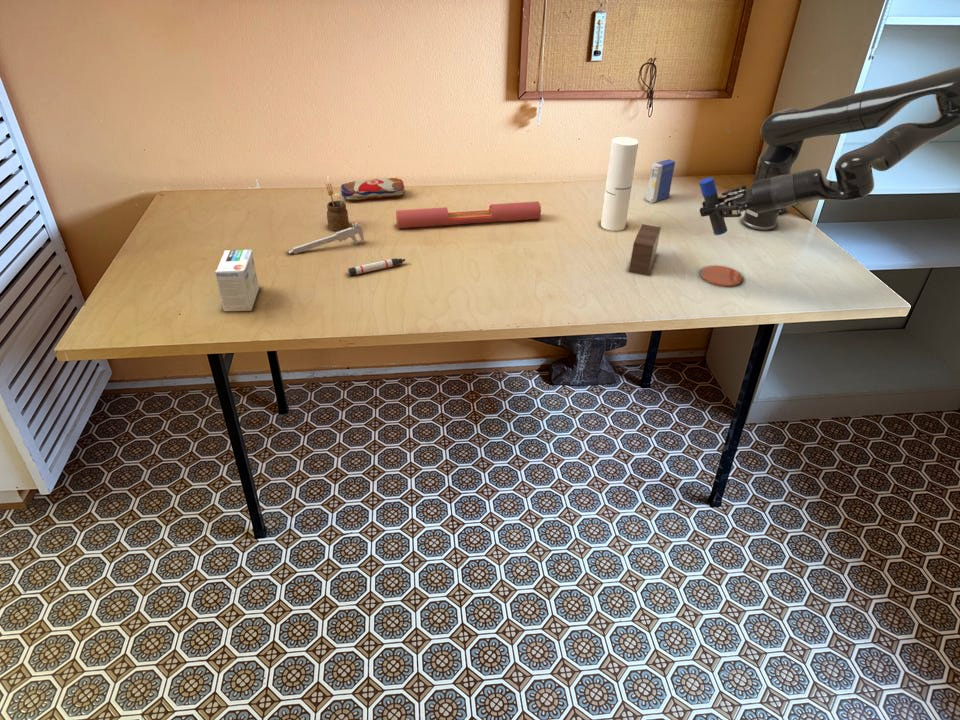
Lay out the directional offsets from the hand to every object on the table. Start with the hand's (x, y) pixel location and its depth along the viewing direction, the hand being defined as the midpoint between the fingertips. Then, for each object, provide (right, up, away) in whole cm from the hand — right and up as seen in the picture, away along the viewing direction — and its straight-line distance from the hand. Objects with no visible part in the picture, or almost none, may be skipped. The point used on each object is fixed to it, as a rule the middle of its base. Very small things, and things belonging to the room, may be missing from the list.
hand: (702, 209), depth 174 cm
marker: (-81, -14, +8) cm, 83 cm away
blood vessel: (-58, +3, +32) cm, 66 cm away
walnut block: (-12, -12, +13) cm, 21 cm away
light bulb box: (-112, -23, -6) cm, 115 cm away
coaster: (+7, -16, +8) cm, 19 cm away
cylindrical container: (-16, +2, +32) cm, 36 cm away
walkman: (+1, +14, +48) cm, 50 cm away
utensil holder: (-96, +1, +28) cm, 100 cm away
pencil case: (-89, +13, +45) cm, 100 cm away
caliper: (-97, -7, +17) cm, 98 cm away
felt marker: (+2, 0, -2) cm, 3 cm away
